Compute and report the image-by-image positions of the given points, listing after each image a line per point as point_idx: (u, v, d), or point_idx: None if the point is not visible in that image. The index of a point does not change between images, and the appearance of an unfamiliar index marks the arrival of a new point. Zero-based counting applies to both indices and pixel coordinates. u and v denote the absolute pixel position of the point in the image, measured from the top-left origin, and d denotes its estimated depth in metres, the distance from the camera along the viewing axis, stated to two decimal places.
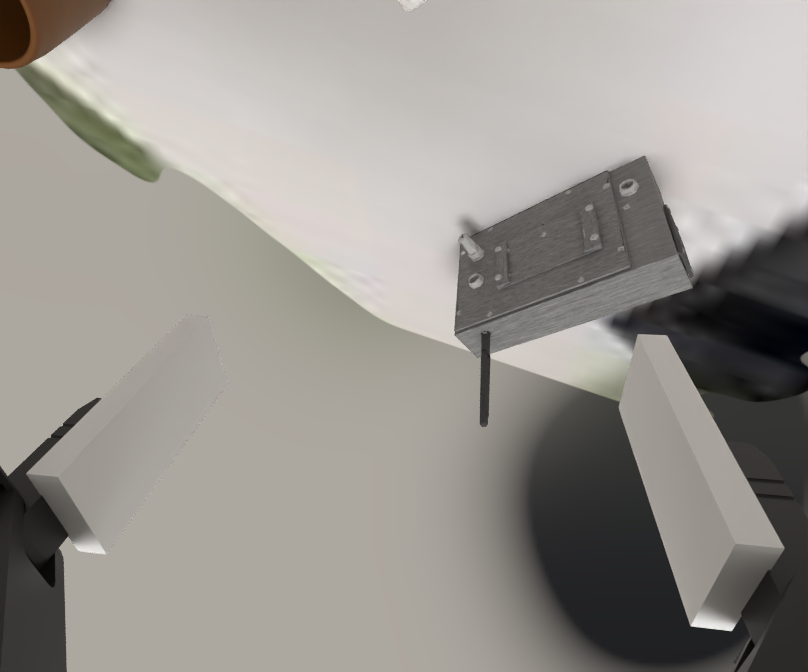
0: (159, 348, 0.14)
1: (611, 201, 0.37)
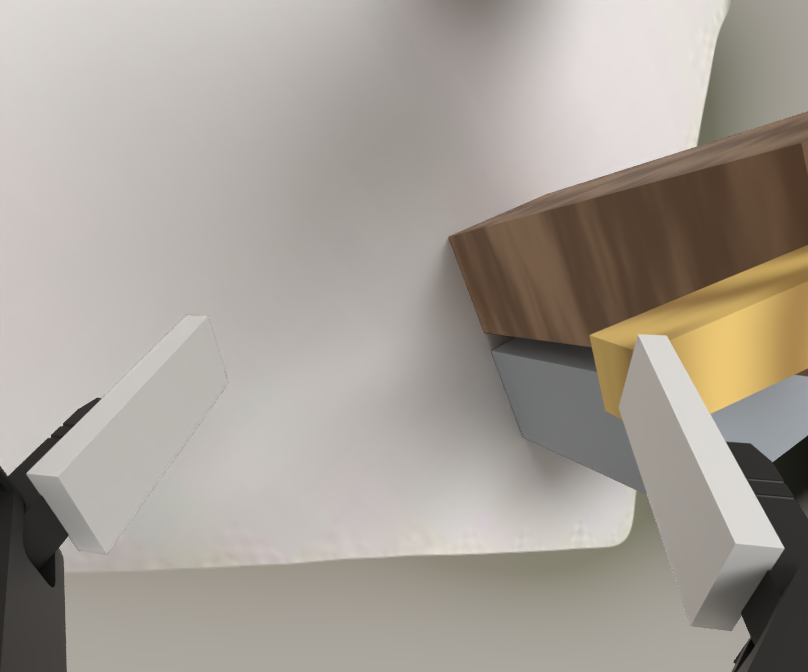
0: (159, 348, 0.14)
1: None
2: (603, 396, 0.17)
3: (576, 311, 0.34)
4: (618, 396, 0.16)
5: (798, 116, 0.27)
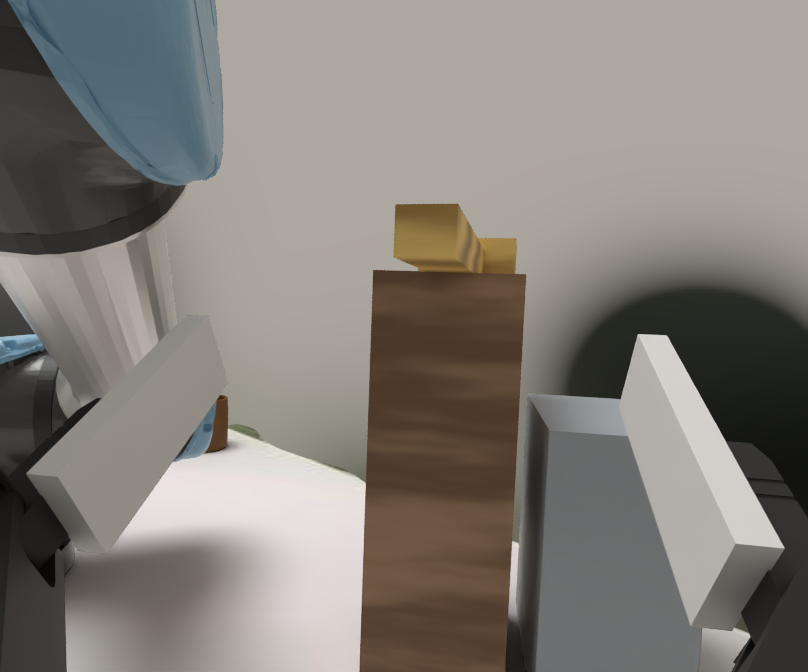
0: (159, 348, 0.14)
1: None
2: (442, 256, 0.23)
3: (471, 504, 0.33)
4: (436, 237, 0.23)
5: None
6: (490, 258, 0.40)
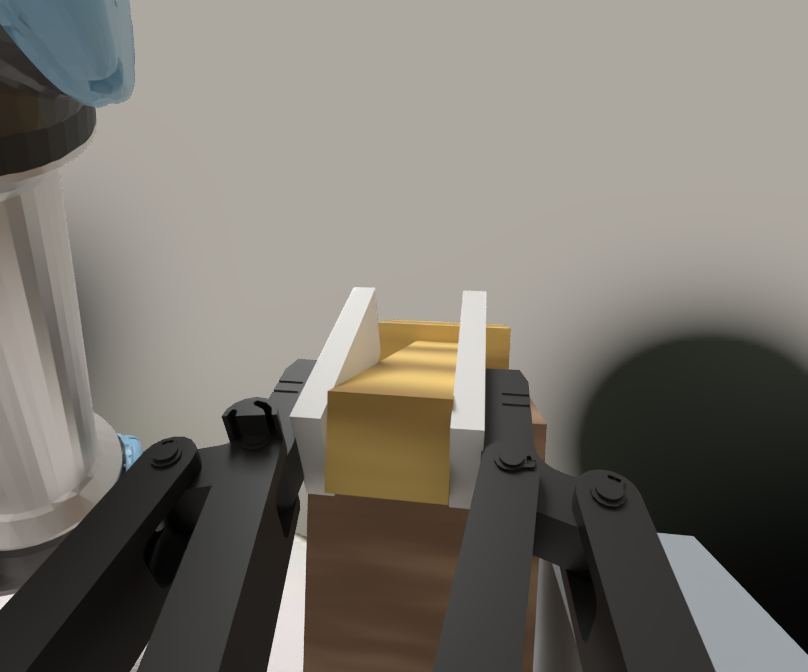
0: (346, 315, 0.15)
1: None
2: (422, 499, 0.11)
3: None
4: (409, 461, 0.11)
5: None
6: None
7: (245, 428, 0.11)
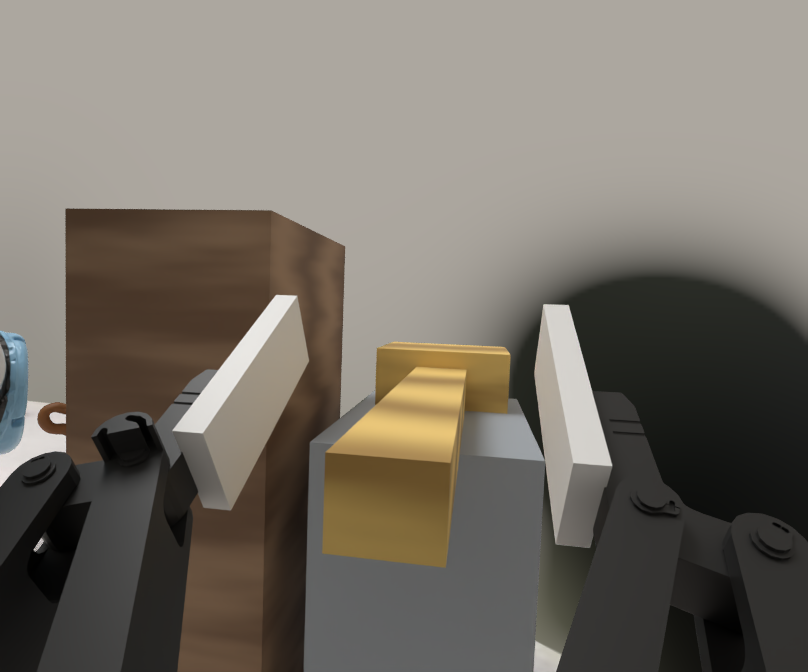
0: (260, 324, 0.15)
1: None
2: (419, 561, 0.11)
3: (207, 550, 0.22)
4: (407, 523, 0.11)
5: None
6: (474, 380, 0.29)
7: (120, 445, 0.10)
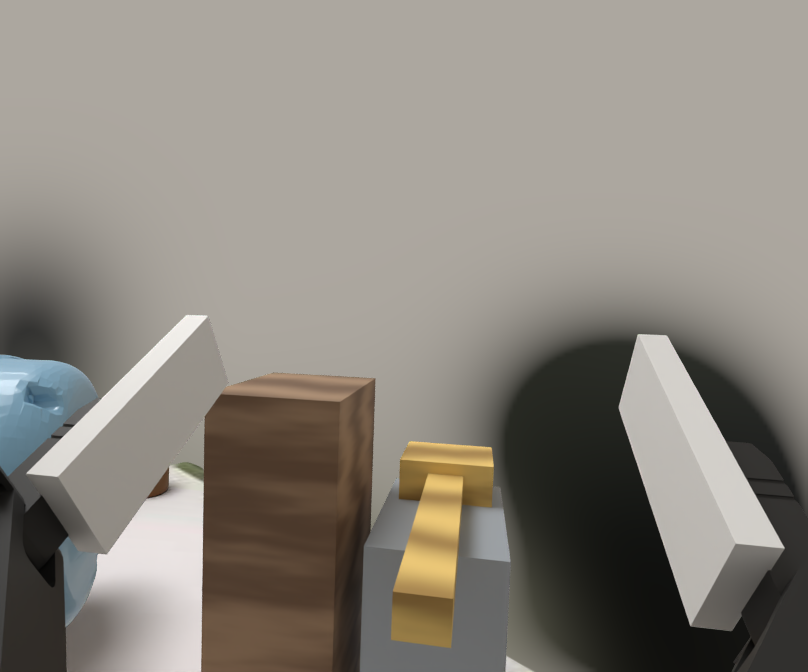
0: (159, 348, 0.14)
1: None
2: (438, 645, 0.24)
3: (296, 612, 0.35)
4: (432, 626, 0.24)
5: None
6: (469, 483, 0.41)
7: None
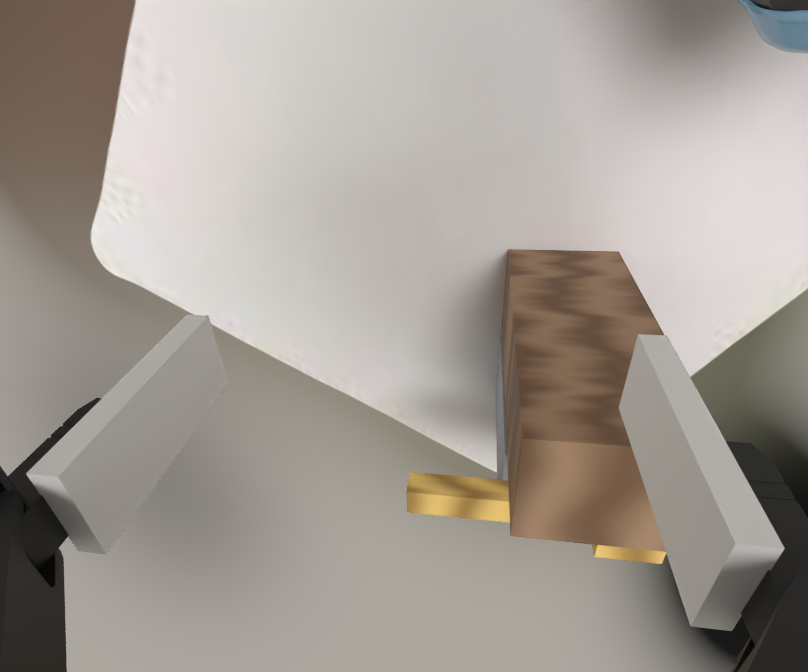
0: (159, 348, 0.14)
1: None
2: None
3: (507, 378, 0.47)
4: None
5: None
6: None
7: None
